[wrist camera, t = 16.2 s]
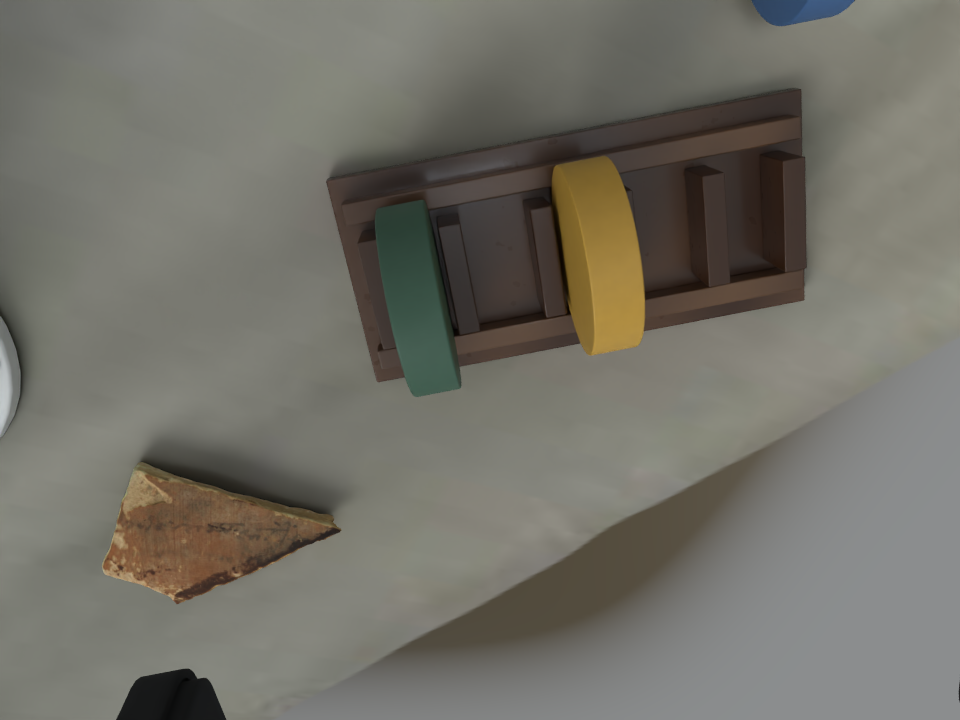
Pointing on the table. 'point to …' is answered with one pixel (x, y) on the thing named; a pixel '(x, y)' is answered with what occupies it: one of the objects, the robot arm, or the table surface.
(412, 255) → the green disc
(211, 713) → the robot arm
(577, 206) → the mustard disc
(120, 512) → the shard
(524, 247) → the disc rack
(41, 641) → the table surface
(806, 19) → the blue disc
